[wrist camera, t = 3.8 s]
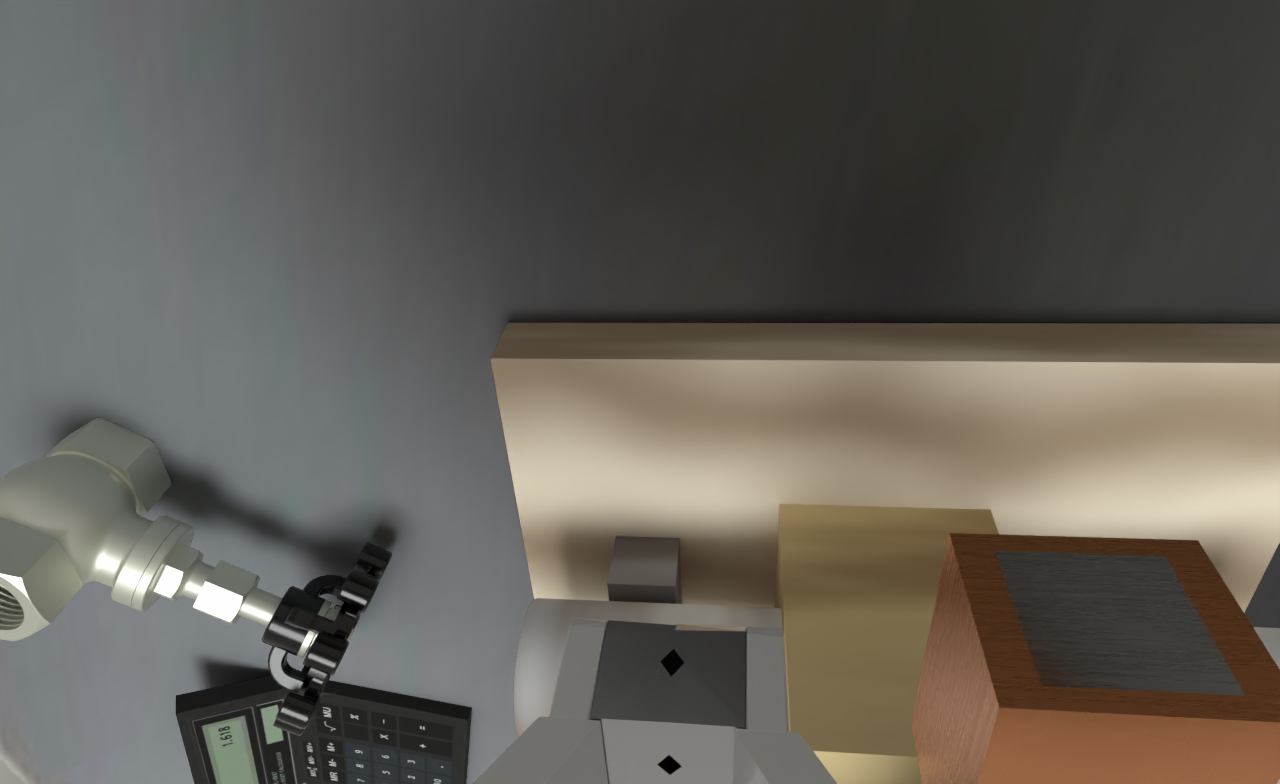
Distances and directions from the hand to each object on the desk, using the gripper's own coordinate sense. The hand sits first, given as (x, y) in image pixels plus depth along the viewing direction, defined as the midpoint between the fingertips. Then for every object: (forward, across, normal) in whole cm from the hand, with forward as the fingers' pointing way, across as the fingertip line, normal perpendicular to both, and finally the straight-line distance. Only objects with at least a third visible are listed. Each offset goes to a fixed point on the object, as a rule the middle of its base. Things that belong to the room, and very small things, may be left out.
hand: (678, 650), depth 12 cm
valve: (+14, +18, +10) cm, 24 cm away
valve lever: (0, -5, +5) cm, 7 cm away
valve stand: (+13, -5, +10) cm, 17 cm away
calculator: (+14, +17, +24) cm, 32 cm away
